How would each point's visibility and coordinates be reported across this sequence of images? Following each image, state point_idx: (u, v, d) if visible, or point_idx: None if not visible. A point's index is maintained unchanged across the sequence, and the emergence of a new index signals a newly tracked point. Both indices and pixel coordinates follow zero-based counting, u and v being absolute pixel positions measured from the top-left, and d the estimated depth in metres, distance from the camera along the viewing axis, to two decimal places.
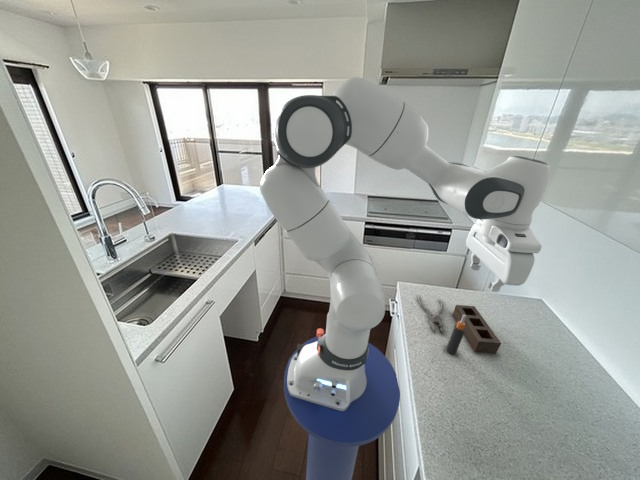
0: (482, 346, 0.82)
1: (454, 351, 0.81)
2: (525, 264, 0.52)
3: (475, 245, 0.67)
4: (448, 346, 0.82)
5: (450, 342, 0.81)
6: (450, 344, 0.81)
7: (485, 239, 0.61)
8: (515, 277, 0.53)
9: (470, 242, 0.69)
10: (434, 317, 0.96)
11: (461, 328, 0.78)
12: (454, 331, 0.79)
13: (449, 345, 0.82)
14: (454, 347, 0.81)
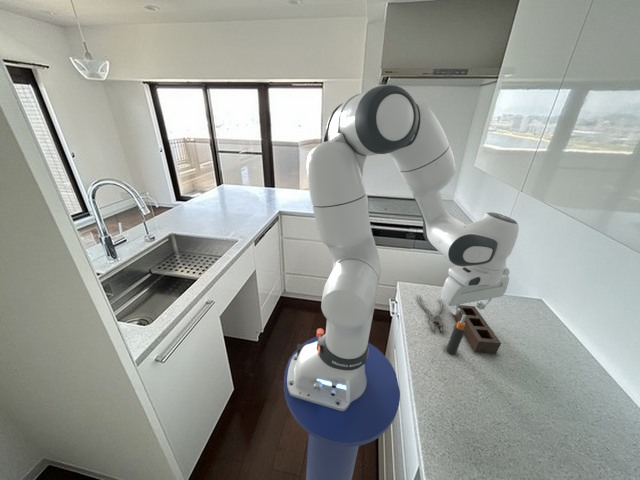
0: (482, 346, 0.82)
1: (454, 351, 0.81)
2: (452, 288, 0.68)
3: None
4: (448, 346, 0.82)
5: (450, 342, 0.81)
6: (450, 344, 0.81)
7: None
8: (444, 295, 0.70)
9: None
10: (434, 317, 0.96)
11: (461, 328, 0.78)
12: (454, 331, 0.79)
13: (449, 345, 0.82)
14: (454, 347, 0.81)
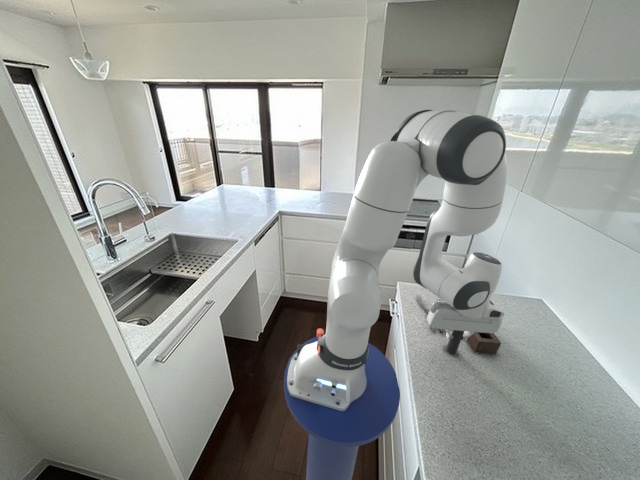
0: (482, 346, 0.82)
1: (454, 351, 0.81)
2: None
3: (449, 323, 0.76)
4: (448, 346, 0.82)
5: (450, 342, 0.81)
6: (450, 344, 0.81)
7: (472, 318, 0.73)
8: None
9: (439, 324, 0.77)
10: None
11: None
12: (454, 331, 0.79)
13: (449, 345, 0.82)
14: (454, 347, 0.81)
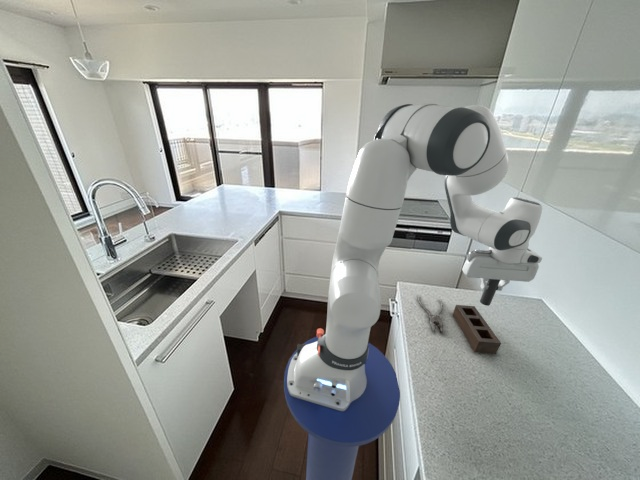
0: (482, 346, 0.82)
1: (489, 302, 0.83)
2: None
3: (486, 272, 0.78)
4: (482, 297, 0.84)
5: (485, 293, 0.83)
6: (484, 295, 0.83)
7: (509, 264, 0.75)
8: None
9: (476, 272, 0.78)
10: (434, 317, 0.96)
11: None
12: (489, 281, 0.81)
13: (483, 296, 0.83)
14: (489, 298, 0.82)
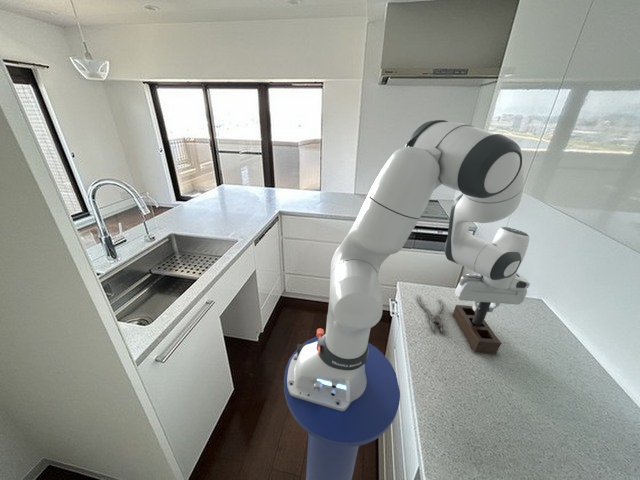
0: (482, 346, 0.82)
1: (480, 323, 0.87)
2: None
3: (477, 295, 0.82)
4: (474, 318, 0.88)
5: (476, 314, 0.87)
6: (476, 316, 0.87)
7: (499, 289, 0.79)
8: None
9: (468, 296, 0.82)
10: (434, 317, 0.96)
11: None
12: (481, 303, 0.85)
13: (475, 317, 0.87)
14: (481, 319, 0.86)
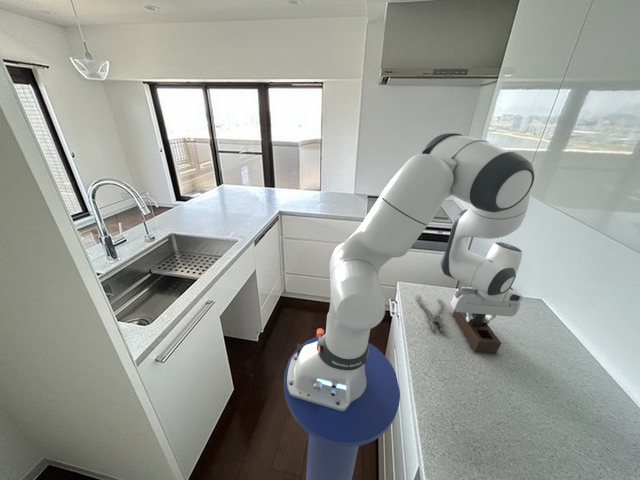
0: (482, 346, 0.82)
1: None
2: None
3: (472, 307, 0.84)
4: None
5: None
6: None
7: (493, 302, 0.81)
8: None
9: (463, 308, 0.84)
10: (434, 317, 0.96)
11: None
12: (476, 314, 0.87)
13: None
14: None
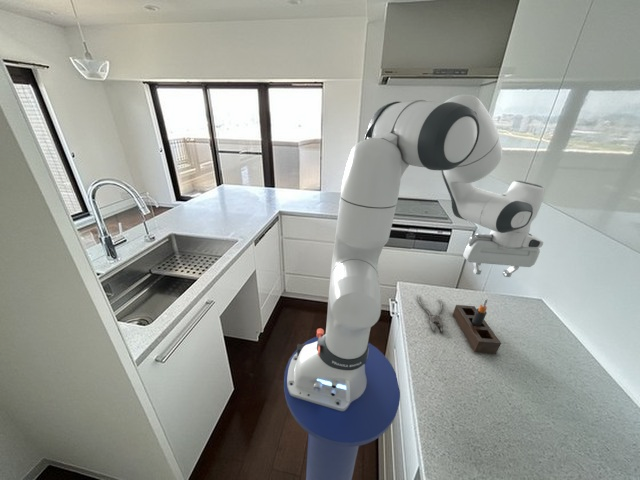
0: (482, 346, 0.82)
1: None
2: None
3: (486, 256, 0.78)
4: None
5: None
6: None
7: (510, 248, 0.75)
8: None
9: (477, 257, 0.78)
10: (434, 317, 0.96)
11: (483, 311, 0.85)
12: (476, 314, 0.87)
13: None
14: None
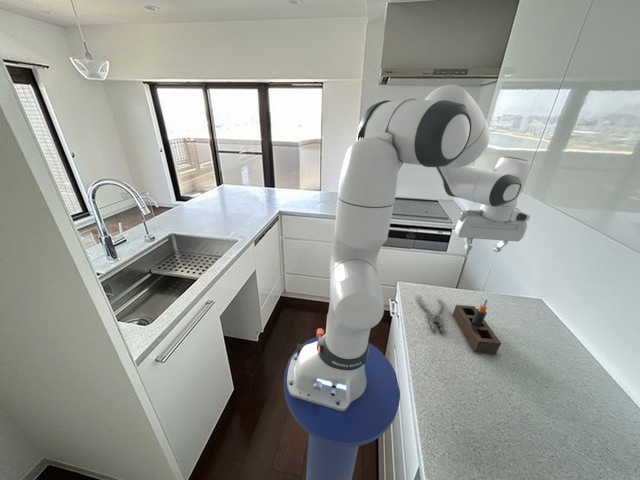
0: (482, 346, 0.82)
1: None
2: None
3: (477, 231, 0.81)
4: None
5: None
6: None
7: (499, 222, 0.78)
8: None
9: (467, 232, 0.81)
10: (434, 317, 0.96)
11: (483, 311, 0.85)
12: (476, 314, 0.87)
13: None
14: None
